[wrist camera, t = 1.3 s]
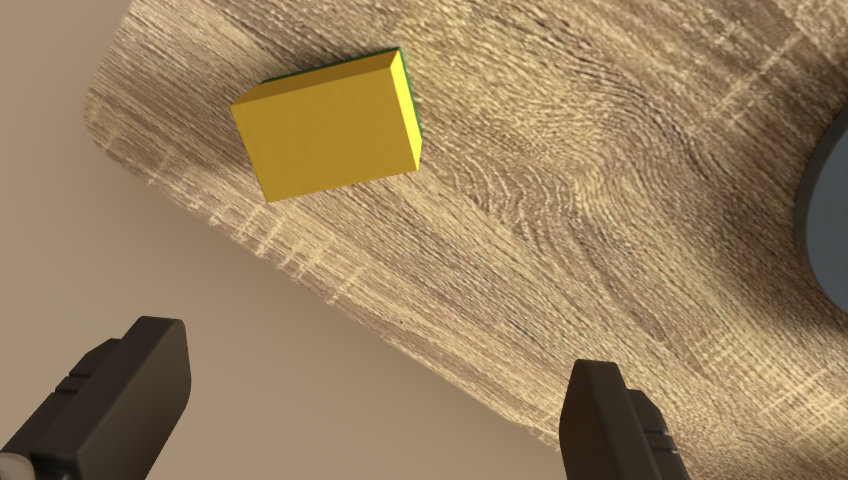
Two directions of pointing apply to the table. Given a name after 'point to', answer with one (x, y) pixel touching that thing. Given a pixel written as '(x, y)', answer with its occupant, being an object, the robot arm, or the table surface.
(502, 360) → the table surface
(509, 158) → the table surface
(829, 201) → the plate
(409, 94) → the sponge
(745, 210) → the table surface
